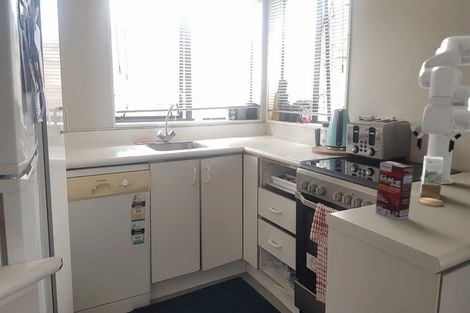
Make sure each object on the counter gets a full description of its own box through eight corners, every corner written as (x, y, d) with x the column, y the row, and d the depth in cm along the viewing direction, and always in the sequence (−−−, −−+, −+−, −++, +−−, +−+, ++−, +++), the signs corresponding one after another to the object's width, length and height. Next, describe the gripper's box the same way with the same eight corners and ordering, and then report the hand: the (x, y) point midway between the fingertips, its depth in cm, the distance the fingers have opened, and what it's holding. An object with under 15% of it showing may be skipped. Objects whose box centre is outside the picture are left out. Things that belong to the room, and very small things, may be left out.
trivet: (419, 199, 136) (419, 196, 136) (441, 202, 133) (441, 199, 133) (419, 204, 130) (419, 201, 130) (442, 207, 127) (442, 204, 127)
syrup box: (436, 194, 144) (441, 156, 141) (439, 198, 138) (444, 158, 136) (419, 193, 146) (424, 155, 143) (421, 196, 140) (426, 157, 138)
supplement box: (374, 212, 119) (379, 161, 117) (385, 210, 122) (389, 160, 119) (398, 220, 112) (403, 167, 109) (409, 218, 114) (414, 165, 112)
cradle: (420, 191, 148) (421, 178, 147) (437, 193, 145) (439, 180, 144) (420, 197, 139) (422, 184, 138) (439, 200, 136) (441, 186, 135)
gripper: (467, 103, 136) (461, 151, 139) (413, 101, 143) (408, 147, 146) (469, 103, 129) (463, 154, 132) (412, 101, 137) (407, 149, 139)
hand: (434, 150), depth 139 cm, fingers open, 9 cm apart
